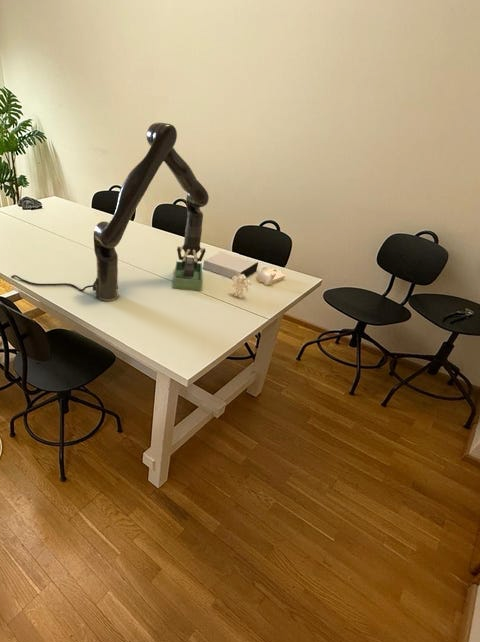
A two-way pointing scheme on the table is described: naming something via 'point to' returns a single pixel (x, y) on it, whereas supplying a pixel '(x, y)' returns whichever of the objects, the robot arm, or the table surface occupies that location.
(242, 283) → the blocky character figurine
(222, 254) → the disc drive
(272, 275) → the cream lumpy rounded piece
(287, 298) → the table surface
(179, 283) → the bin
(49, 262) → the table surface
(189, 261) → the block
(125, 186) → the robot arm
